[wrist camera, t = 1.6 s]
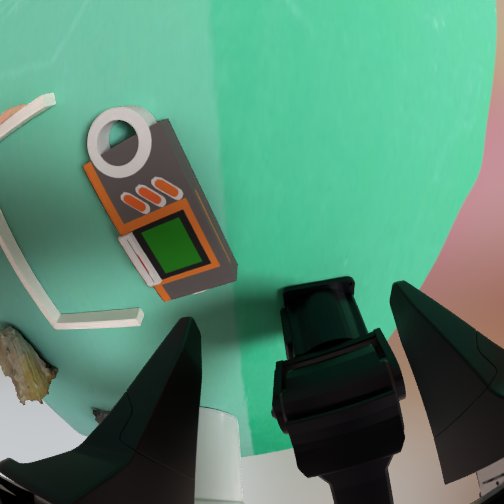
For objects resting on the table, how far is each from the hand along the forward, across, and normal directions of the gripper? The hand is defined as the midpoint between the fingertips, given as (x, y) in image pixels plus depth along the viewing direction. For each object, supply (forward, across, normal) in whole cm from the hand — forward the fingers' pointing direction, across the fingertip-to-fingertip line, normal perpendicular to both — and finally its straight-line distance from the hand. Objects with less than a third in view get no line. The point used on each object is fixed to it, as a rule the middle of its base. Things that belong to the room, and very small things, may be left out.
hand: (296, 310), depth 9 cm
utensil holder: (+12, +17, +39) cm, 44 cm away
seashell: (+12, +40, +17) cm, 45 cm away
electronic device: (+13, +8, 0) cm, 15 cm away
